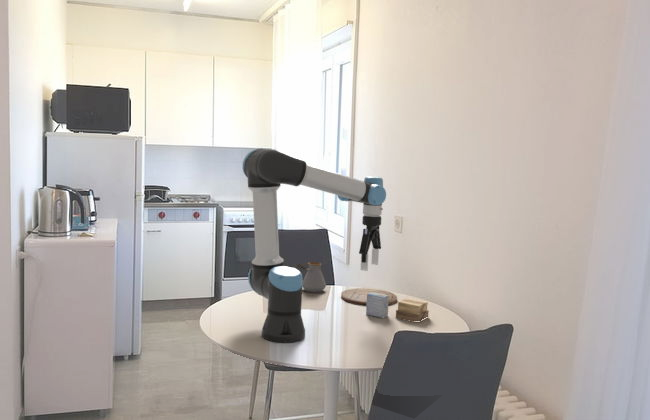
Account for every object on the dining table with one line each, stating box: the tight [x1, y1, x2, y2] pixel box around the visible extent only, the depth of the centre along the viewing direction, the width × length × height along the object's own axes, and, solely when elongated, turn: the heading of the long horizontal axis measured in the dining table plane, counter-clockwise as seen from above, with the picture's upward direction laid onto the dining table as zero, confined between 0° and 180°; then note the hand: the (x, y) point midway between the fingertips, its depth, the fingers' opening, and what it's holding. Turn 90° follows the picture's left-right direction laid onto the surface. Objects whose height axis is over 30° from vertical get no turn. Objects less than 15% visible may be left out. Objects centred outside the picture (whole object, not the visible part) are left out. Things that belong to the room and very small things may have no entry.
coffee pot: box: [295, 261, 327, 294], centre depth 260 cm, size 21×12×15 cm, turn 148°
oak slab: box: [397, 297, 429, 315], centre depth 227 cm, size 8×9×4 cm
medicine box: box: [365, 292, 389, 319], centre depth 228 cm, size 8×4×9 cm, turn 58°
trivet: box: [340, 287, 398, 307], centre depth 255 cm, size 25×25×2 cm
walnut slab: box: [395, 309, 429, 322], centre depth 228 cm, size 9×10×4 cm
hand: (369, 267), depth 231 cm, fingers open, 13 cm apart
